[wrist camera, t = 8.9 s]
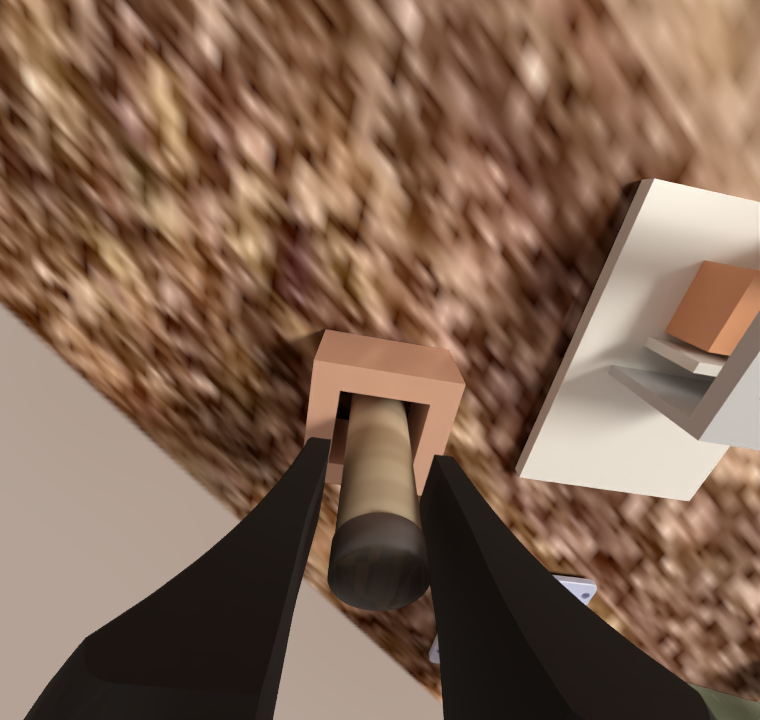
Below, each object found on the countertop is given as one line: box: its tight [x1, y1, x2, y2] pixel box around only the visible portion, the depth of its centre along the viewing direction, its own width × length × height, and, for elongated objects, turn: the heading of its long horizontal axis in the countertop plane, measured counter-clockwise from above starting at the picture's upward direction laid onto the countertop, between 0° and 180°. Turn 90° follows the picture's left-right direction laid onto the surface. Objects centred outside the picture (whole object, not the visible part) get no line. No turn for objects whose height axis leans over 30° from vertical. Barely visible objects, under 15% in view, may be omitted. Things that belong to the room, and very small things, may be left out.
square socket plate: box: [515, 179, 760, 501], centre depth 13 cm, size 13×9×5 cm
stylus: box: [328, 393, 431, 611], centre depth 12 cm, size 2×2×8 cm
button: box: [665, 260, 760, 356], centre depth 12 cm, size 3×3×2 cm
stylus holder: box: [304, 330, 466, 495], centre depth 14 cm, size 5×5×3 cm
